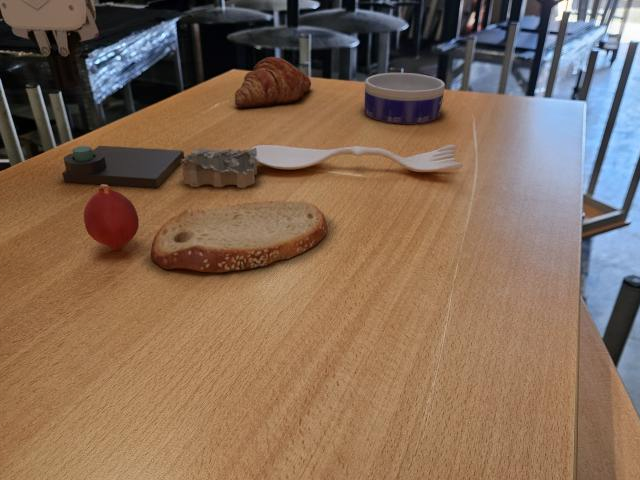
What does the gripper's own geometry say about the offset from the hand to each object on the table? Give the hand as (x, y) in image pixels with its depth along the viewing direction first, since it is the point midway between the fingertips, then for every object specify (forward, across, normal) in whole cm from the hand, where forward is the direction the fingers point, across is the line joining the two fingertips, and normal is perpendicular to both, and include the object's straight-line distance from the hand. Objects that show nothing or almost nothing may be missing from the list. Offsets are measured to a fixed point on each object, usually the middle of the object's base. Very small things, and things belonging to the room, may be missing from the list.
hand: (68, 86), depth 75 cm
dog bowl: (+13, +45, +43) cm, 63 cm away
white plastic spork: (+13, +37, +11) cm, 41 cm away
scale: (+13, +3, +6) cm, 15 cm away
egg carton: (+13, +18, +4) cm, 23 cm away
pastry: (+13, +18, +49) cm, 54 cm away
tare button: (+11, -1, +2) cm, 11 cm away
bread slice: (+13, +26, -15) cm, 33 cm away
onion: (+13, +12, -18) cm, 26 cm away
